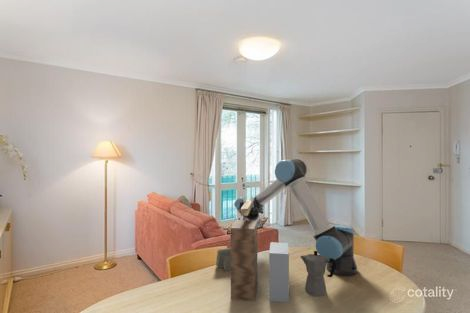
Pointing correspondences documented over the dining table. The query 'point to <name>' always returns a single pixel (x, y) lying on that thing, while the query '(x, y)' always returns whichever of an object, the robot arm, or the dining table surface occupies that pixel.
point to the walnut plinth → (244, 260)
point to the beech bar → (246, 208)
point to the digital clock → (224, 258)
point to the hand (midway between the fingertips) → (248, 199)
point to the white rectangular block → (279, 272)
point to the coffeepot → (317, 273)
